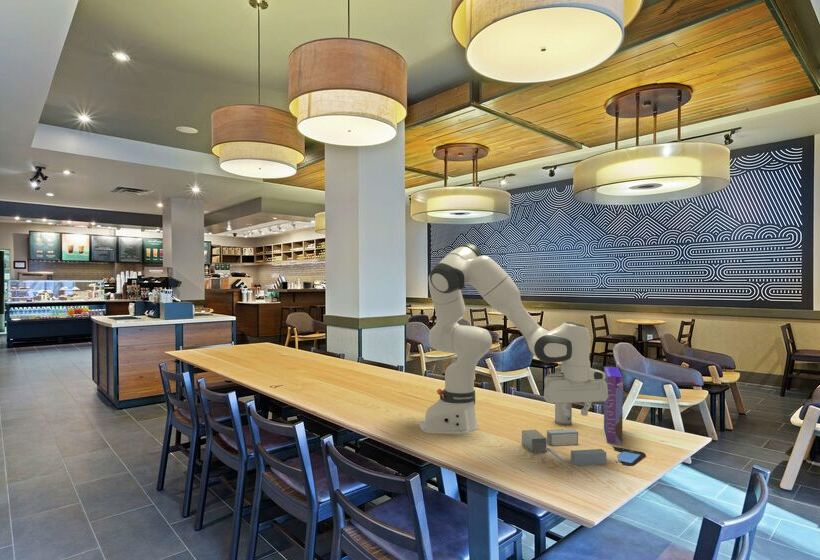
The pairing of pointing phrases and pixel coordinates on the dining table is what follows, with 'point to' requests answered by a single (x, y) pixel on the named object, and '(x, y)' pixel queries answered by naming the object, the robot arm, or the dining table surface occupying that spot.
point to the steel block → (534, 441)
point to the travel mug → (560, 416)
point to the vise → (585, 456)
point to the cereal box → (613, 405)
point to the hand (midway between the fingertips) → (575, 415)
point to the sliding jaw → (562, 437)
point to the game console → (629, 456)
